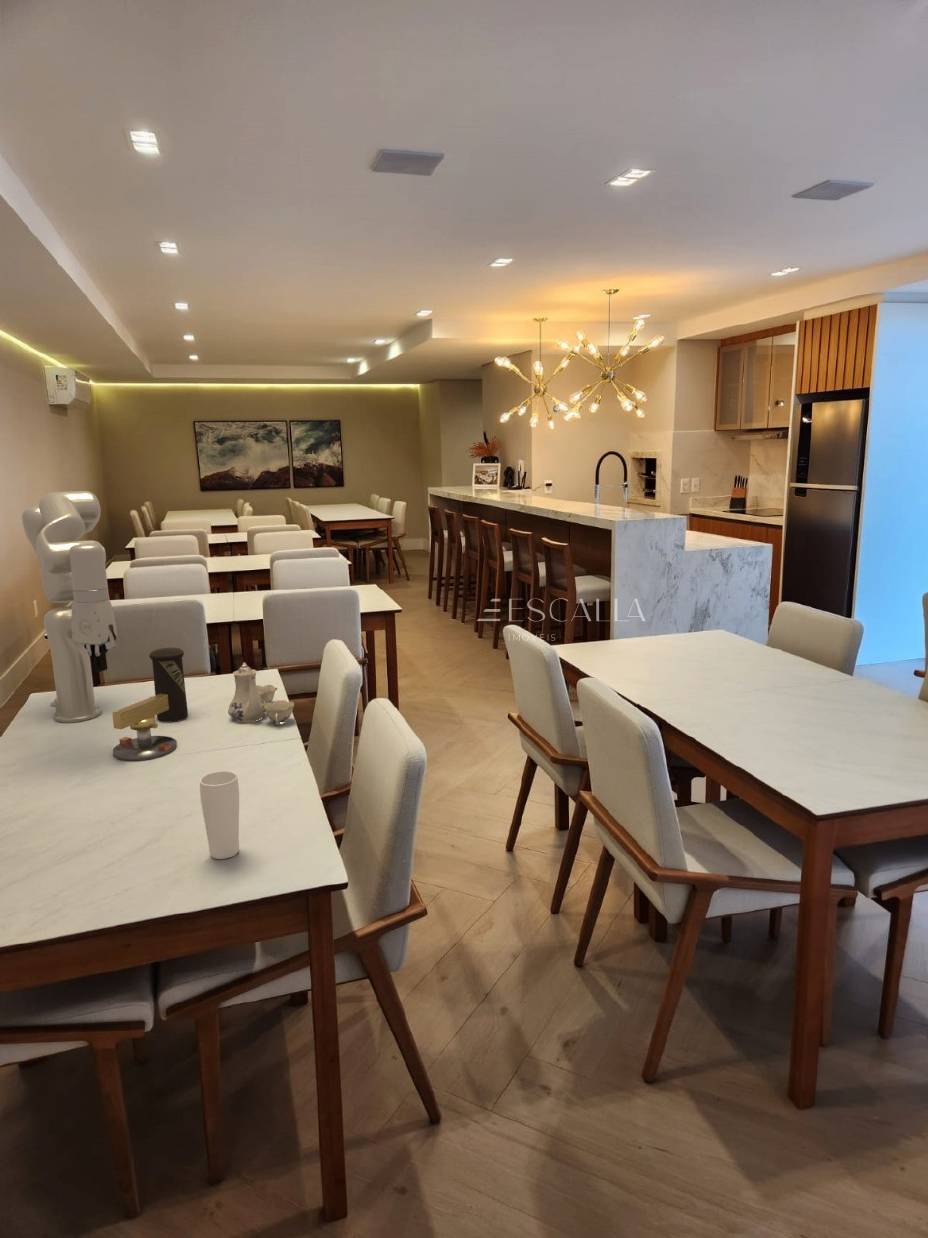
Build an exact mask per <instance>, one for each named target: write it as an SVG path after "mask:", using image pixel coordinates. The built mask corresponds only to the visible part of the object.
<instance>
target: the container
mask: <svg viewBox="0 0 928 1238" xmlns="http://www.w3.org/2000/svg"><path fill="white" fill-rule="evenodd" d="M184 654H185V652H184V650H183V649H181V648H180V647H179V648H178V647H164V648H163V647H162V648H158V649H157V648H156V649H154V650H152V651H151V652H150V653H149V655H148V656H149V658H150V661H152V662H151V663H152V671H153V683H154V684H153V685H154V696H156V695H158V694H166V695H168V705H169V710H167V711H164V712H162V713H159V714H157V715H156V719H157V721H159V722H163V723H174V722H175V723H176V722H181V721H184V720H187V718H188V717H189V713H188V702H187V692H186V685H185V684H186V683H185V675H184V664H183V657H184Z"/></svg>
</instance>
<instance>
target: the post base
mask: <svg viewBox="0 0 928 1238" xmlns="http://www.w3.org/2000/svg"><path fill="white" fill-rule="evenodd" d="M118 741H119V744H117V745H115V746H114V747H113V749H112V756H113V758H115V759H116V760H119V761H121V762H122V761H123V762H143V761H144V762H145V761H151V760H155V759H158V758H162V757H164V756H168V755H170V754H172V753H173V752H174V751H175V750H176V749H177V748H178V742H177V740H176V739H175V738H173V737H171V736H166V735H152V732H151V728H150V729H146V730H136V737H135V738H132V737H128V736H124V737H122V738H119V740H118Z"/></svg>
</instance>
